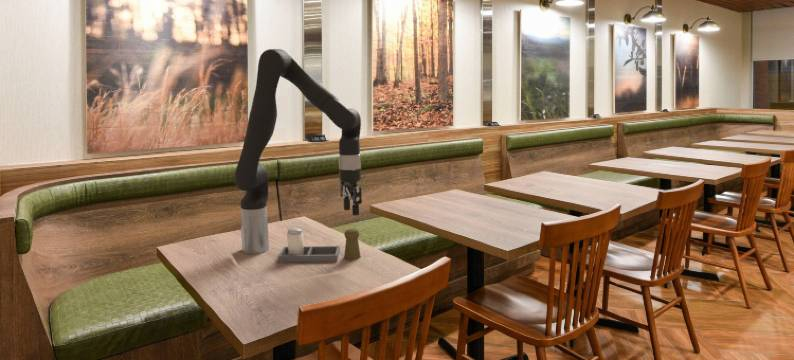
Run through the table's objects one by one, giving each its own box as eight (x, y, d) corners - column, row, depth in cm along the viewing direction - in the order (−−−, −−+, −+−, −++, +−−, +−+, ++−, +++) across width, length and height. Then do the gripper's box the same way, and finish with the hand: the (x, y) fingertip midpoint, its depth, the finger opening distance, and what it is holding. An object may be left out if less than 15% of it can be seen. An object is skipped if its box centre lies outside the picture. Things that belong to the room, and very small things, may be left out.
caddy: (278, 264, 190) (278, 256, 189) (284, 254, 200) (283, 246, 200) (337, 263, 190) (337, 255, 190) (339, 253, 201) (339, 246, 200)
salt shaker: (290, 260, 191) (289, 232, 189) (286, 255, 196) (285, 228, 194) (306, 258, 194) (305, 230, 192) (301, 253, 199) (300, 226, 197)
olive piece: (358, 262, 191) (357, 232, 189) (341, 261, 193) (341, 231, 190) (362, 256, 197) (362, 227, 195) (346, 255, 198) (345, 226, 196)
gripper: (332, 165, 193) (334, 209, 196) (347, 171, 181) (348, 218, 184) (352, 163, 196) (353, 207, 199) (368, 169, 184) (369, 215, 187)
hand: (351, 212), depth 192 cm, fingers open, 8 cm apart
